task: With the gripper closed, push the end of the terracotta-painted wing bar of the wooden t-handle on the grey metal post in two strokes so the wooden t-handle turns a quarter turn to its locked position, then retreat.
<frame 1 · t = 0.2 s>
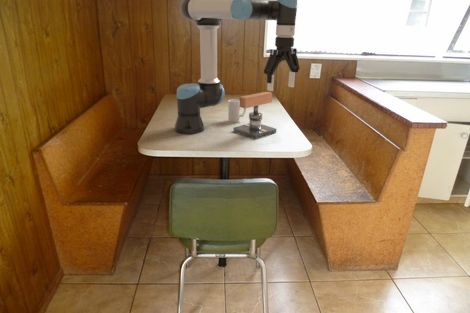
hand: (280, 88, 146), 28 cm above the table, fingers open, 13 cm apart
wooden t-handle: (256, 106, 174), point 13 cm above the table, hinge at 0.0°
mug: (236, 121, 196), on the table
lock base: (254, 131, 179), on the table
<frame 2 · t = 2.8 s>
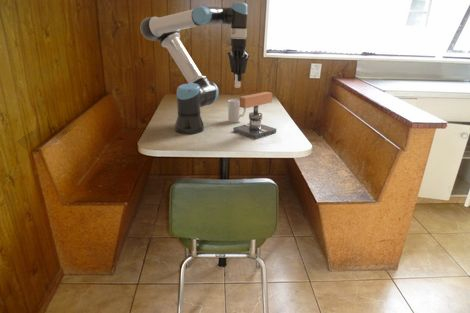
hand: (237, 87, 171), 23 cm above the table, fingers closed
nothing on the table moved.
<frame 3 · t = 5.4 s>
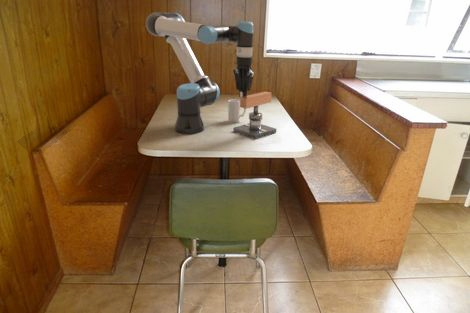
hand: (242, 104, 172), 15 cm above the table, fingers closed
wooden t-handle: (256, 106, 174), point 13 cm above the table, hinge at 3.4°, touching gripper
everything else where it was.
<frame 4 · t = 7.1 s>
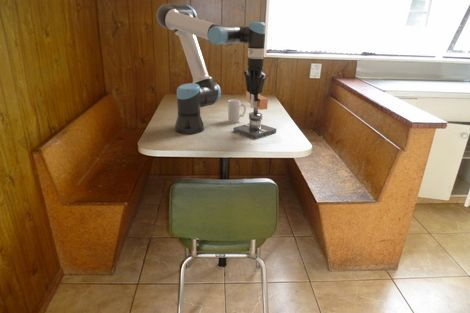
hand: (253, 107, 167), 15 cm above the table, fingers closed
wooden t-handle: (256, 106, 174), point 13 cm above the table, hinge at 63.4°, touching gripper
everything else where it was.
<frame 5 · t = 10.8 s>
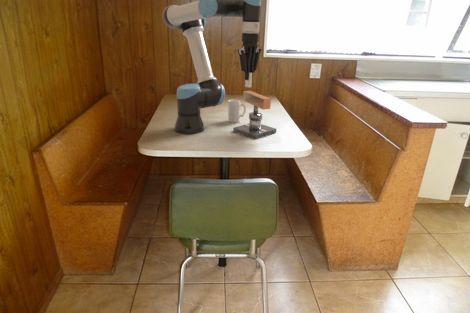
hand: (248, 86, 156), 26 cm above the table, fingers closed
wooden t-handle: (256, 106, 174), point 13 cm above the table, hinge at 74.1°
everything else where it was.
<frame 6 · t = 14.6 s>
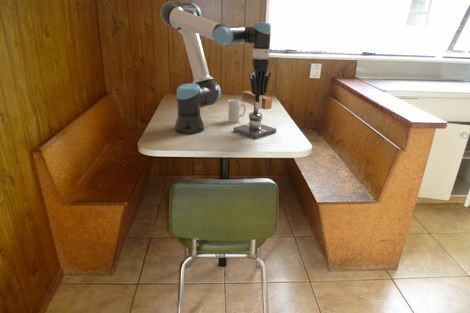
hand: (258, 108, 165), 15 cm above the table, fingers closed
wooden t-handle: (256, 106, 174), point 13 cm above the table, hinge at 78.9°, touching gripper
everything else where it was.
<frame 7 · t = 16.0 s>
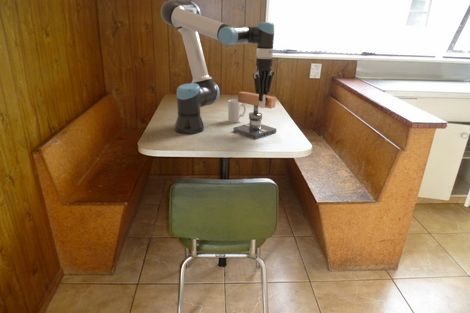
hand: (261, 107, 167), 15 cm above the table, fingers closed
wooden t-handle: (256, 106, 174), point 13 cm above the table, hinge at 99.4°, touching gripper
everything else where it was.
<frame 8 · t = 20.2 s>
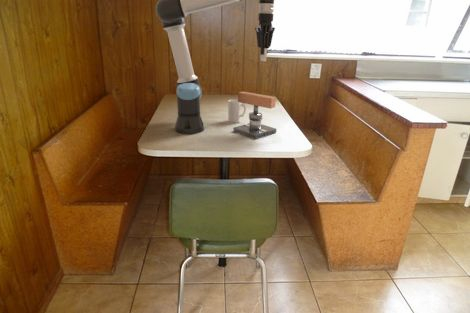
hand: (263, 60, 181), 34 cm above the table, fingers closed
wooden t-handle: (256, 106, 174), point 13 cm above the table, hinge at 99.5°
everything else where it was.
at the end: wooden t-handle at +100° (first picture: +0°); the gripper is holding nothing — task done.
